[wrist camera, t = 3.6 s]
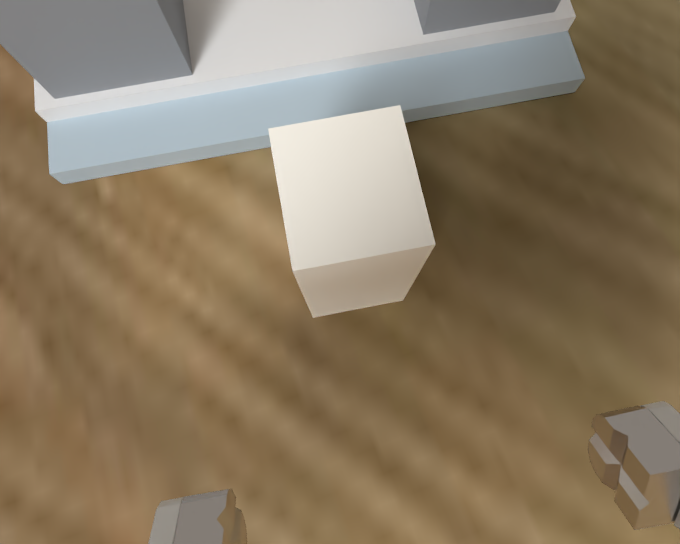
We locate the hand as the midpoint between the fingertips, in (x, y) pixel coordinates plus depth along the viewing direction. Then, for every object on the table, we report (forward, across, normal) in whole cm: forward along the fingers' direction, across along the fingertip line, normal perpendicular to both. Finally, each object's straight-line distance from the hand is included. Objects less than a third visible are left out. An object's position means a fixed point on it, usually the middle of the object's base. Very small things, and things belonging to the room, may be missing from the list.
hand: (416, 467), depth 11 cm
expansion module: (+14, 0, +2) cm, 14 cm away
